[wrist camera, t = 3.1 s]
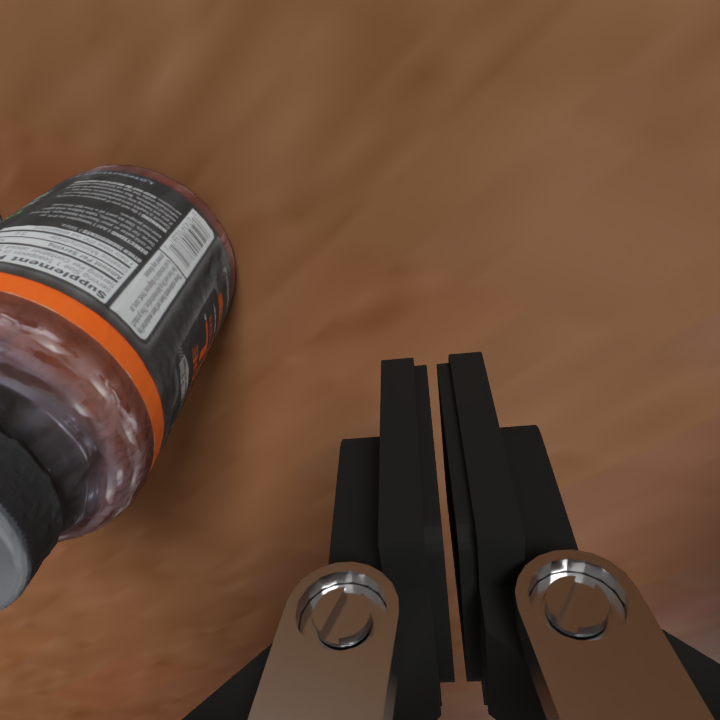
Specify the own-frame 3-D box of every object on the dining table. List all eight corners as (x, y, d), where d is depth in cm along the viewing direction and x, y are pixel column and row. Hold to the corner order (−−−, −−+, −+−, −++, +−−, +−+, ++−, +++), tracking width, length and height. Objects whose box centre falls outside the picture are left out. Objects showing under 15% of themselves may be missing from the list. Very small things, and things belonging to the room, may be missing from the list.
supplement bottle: (200, 367, 21) (37, 698, 12) (27, 286, 20) (-312, 585, 11) (274, 223, 18) (136, 508, 9) (76, 115, 17) (-333, 318, 8)
